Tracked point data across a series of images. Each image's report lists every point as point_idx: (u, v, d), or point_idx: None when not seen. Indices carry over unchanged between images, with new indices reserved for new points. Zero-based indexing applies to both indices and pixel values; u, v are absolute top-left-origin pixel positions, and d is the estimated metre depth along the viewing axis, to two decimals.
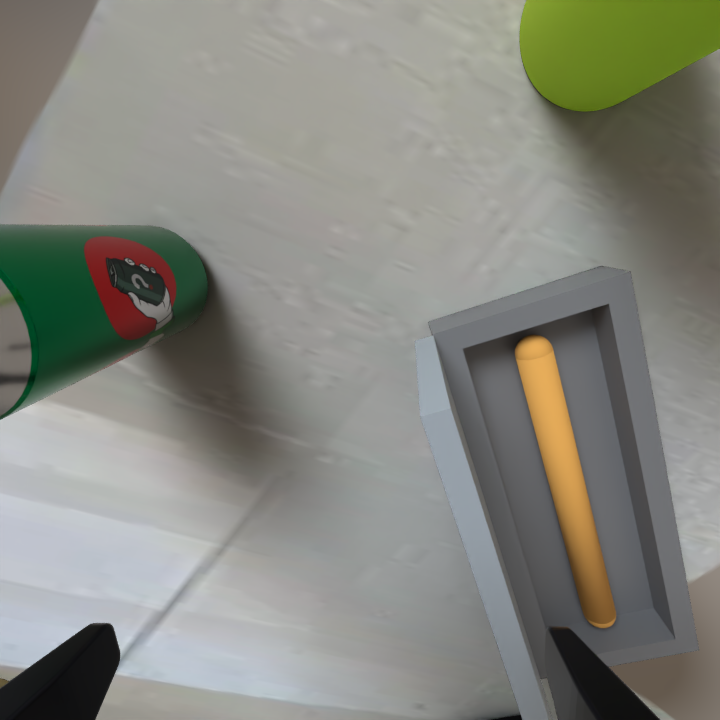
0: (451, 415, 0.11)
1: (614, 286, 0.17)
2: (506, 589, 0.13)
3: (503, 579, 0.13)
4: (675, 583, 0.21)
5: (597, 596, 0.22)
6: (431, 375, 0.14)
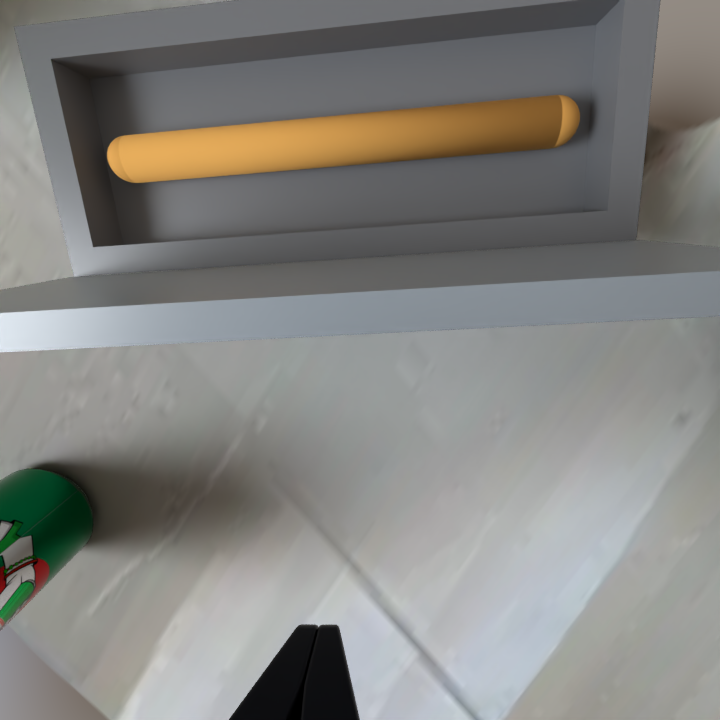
0: None
1: (30, 49, 0.14)
2: (88, 309, 0.09)
3: (71, 310, 0.09)
4: None
5: (503, 124, 0.14)
6: None
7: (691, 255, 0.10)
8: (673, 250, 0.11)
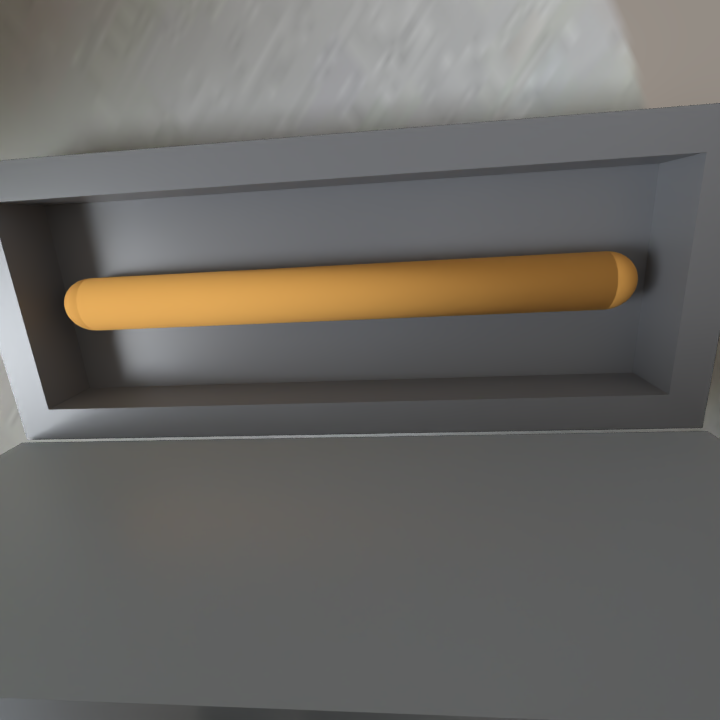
0: None
1: None
2: None
3: None
4: (552, 140, 0.10)
5: (544, 290, 0.12)
6: None
7: None
8: None
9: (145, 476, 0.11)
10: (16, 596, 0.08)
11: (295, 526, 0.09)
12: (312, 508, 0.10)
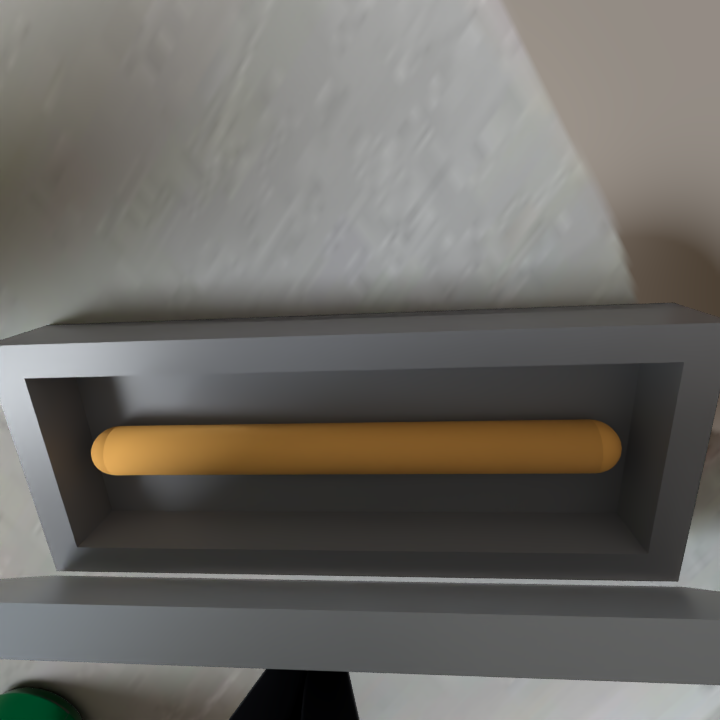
0: None
1: (1, 368, 0.13)
2: (55, 606, 0.07)
3: (35, 605, 0.07)
4: (544, 347, 0.11)
5: (536, 462, 0.13)
6: None
7: None
8: None
9: (171, 582, 0.12)
10: (72, 593, 0.09)
11: (308, 590, 0.10)
12: (322, 589, 0.11)
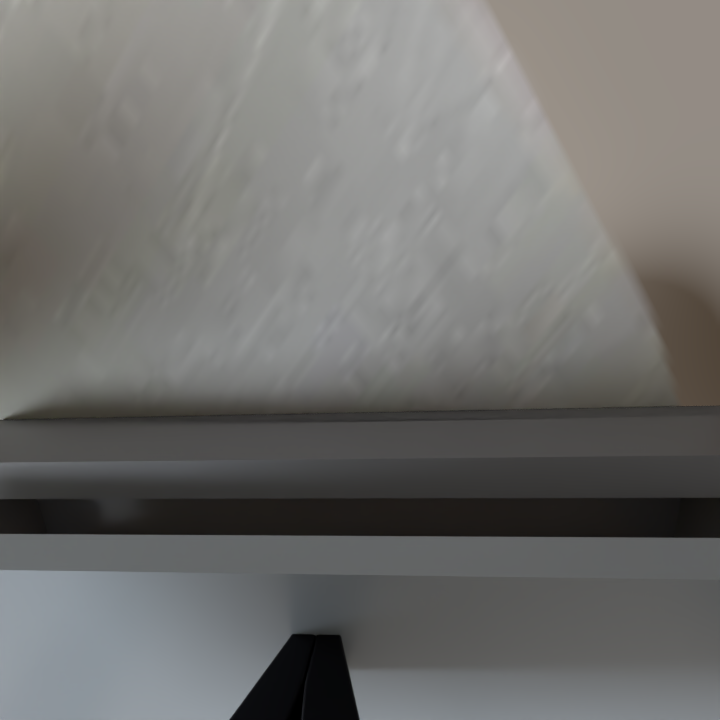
0: None
1: None
2: (103, 536, 0.09)
3: (85, 536, 0.09)
4: (576, 477, 0.09)
5: None
6: None
7: None
8: None
9: None
10: None
11: None
12: None
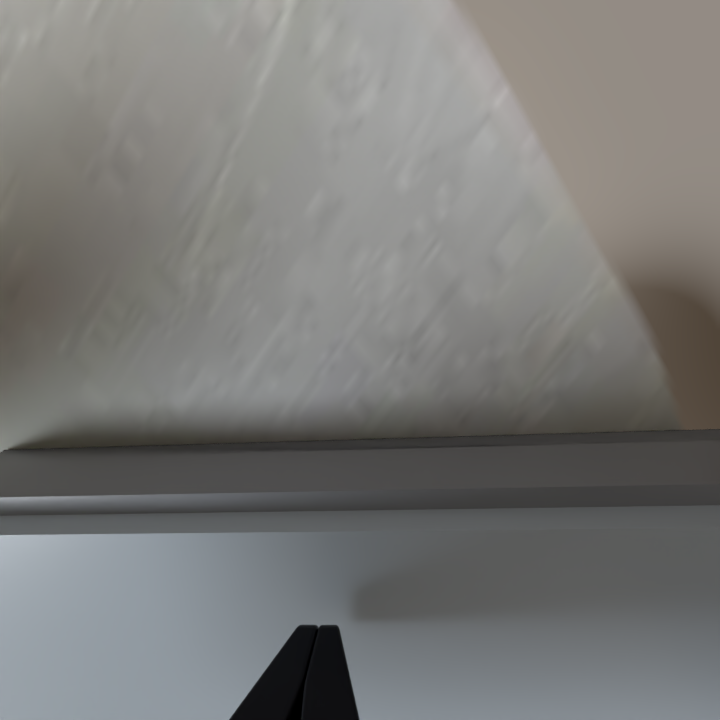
0: None
1: None
2: (154, 513, 0.10)
3: (139, 514, 0.10)
4: None
5: None
6: None
7: None
8: None
9: None
10: None
11: None
12: None
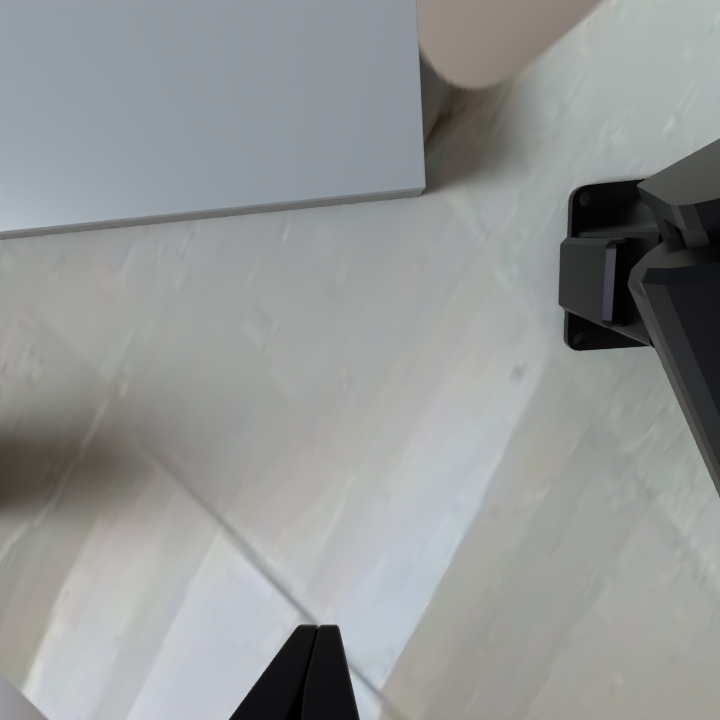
0: None
1: None
2: None
3: None
4: None
5: None
6: None
7: None
8: None
9: None
10: None
11: None
12: None
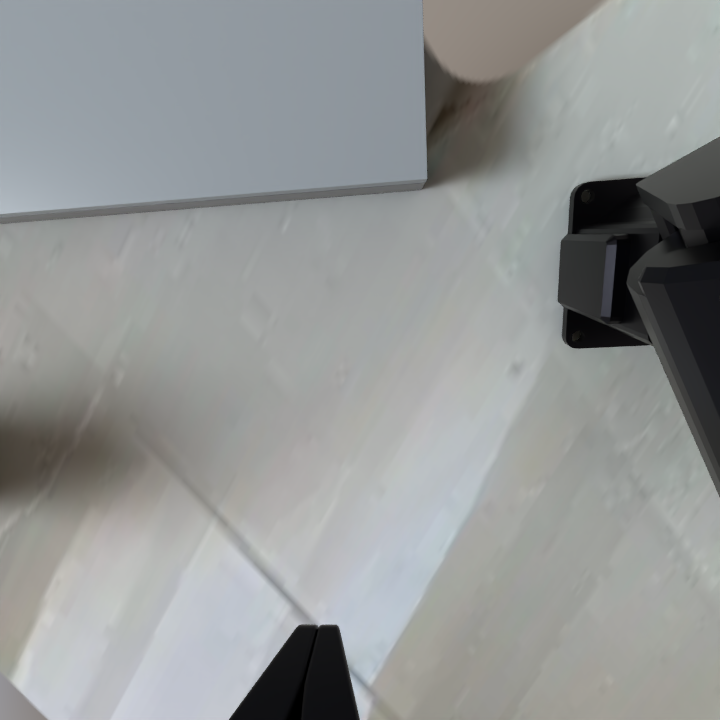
0: None
1: None
2: None
3: None
4: None
5: None
6: None
7: None
8: None
9: None
10: None
11: None
12: None
